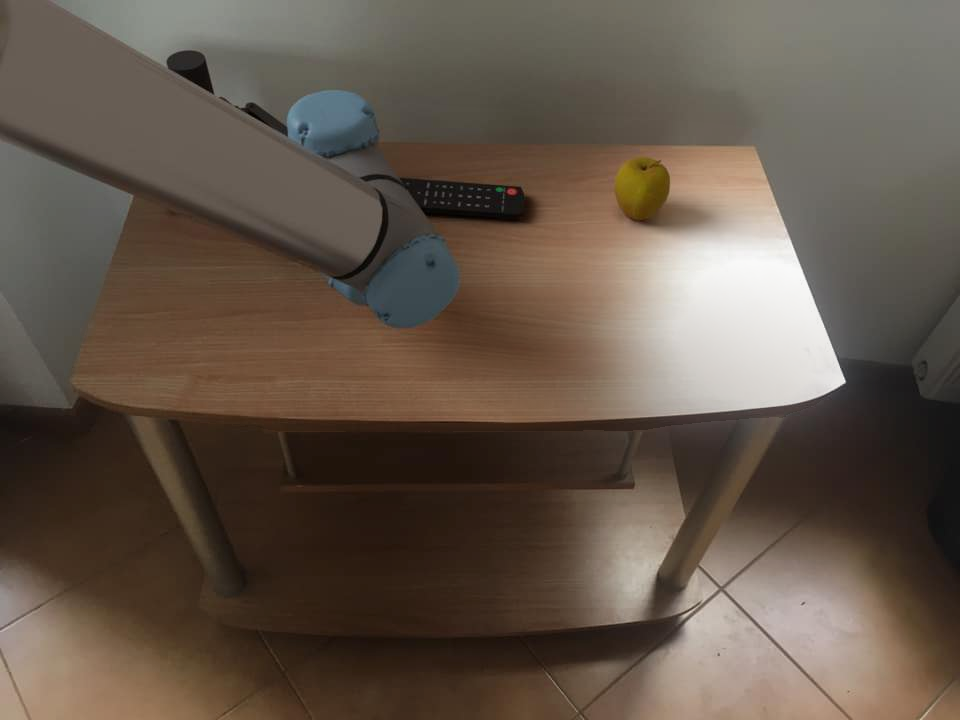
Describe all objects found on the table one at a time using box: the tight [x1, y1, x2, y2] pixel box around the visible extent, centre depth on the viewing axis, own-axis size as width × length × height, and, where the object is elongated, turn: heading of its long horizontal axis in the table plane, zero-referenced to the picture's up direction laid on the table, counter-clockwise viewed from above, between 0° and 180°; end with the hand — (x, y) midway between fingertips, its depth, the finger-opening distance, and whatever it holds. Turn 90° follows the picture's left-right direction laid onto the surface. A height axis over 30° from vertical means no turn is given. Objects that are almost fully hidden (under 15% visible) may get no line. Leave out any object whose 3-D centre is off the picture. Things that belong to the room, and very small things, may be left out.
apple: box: [614, 157, 671, 221], centre depth 93 cm, size 6×6×8 cm
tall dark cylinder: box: [165, 49, 216, 96], centre depth 90 cm, size 4×4×16 cm
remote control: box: [399, 177, 526, 220], centre depth 96 cm, size 5×24×1 cm, turn 86°
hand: (178, 100), depth 92 cm, fingers closed on tall dark cylinder, 4 cm apart
